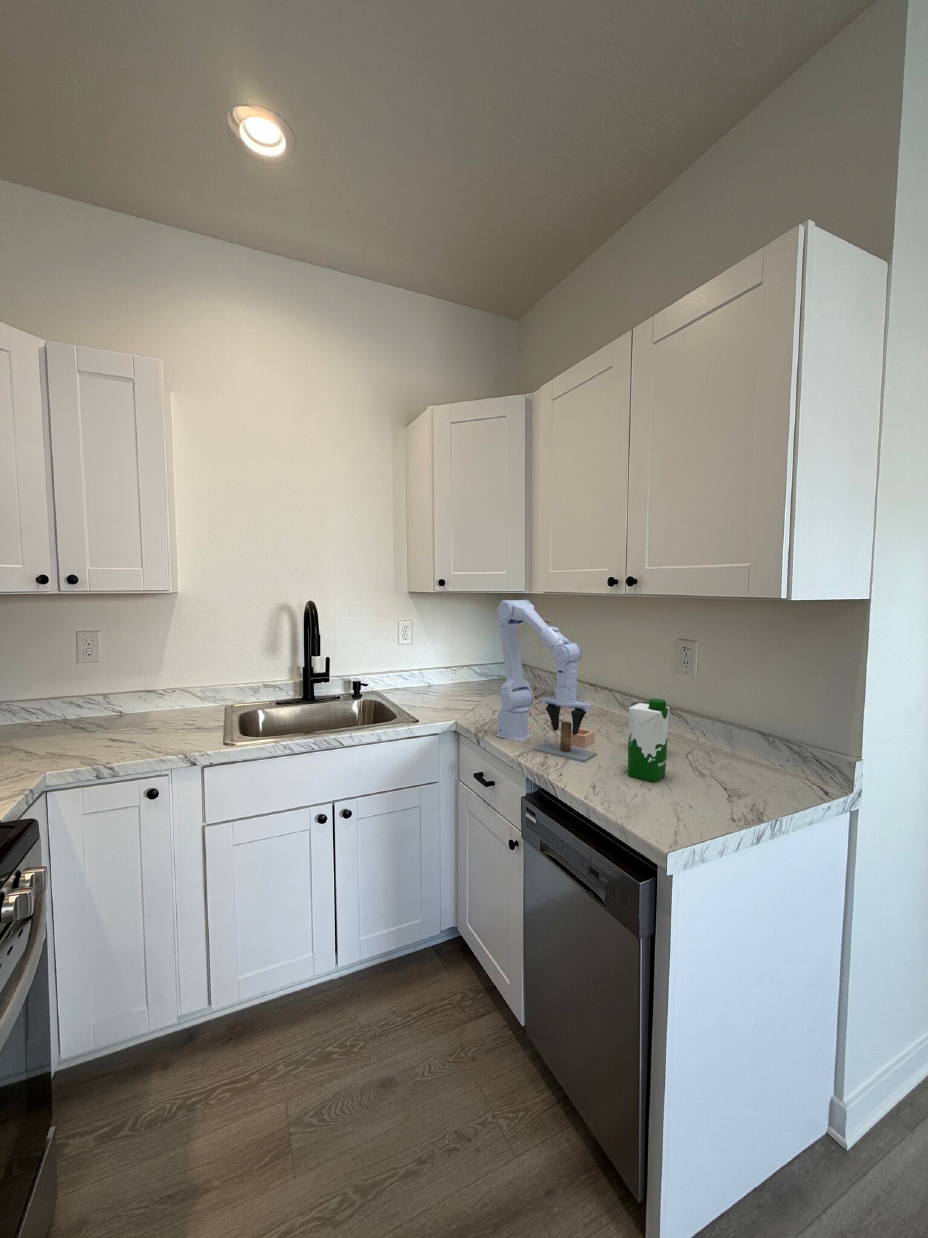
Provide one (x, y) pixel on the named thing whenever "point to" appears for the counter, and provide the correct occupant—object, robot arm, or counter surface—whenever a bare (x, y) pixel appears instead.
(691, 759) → the counter surface
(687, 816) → the counter surface
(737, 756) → the counter surface
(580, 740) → the square hollow frame
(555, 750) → the board
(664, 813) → the counter surface
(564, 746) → the peg
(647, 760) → the milk carton
